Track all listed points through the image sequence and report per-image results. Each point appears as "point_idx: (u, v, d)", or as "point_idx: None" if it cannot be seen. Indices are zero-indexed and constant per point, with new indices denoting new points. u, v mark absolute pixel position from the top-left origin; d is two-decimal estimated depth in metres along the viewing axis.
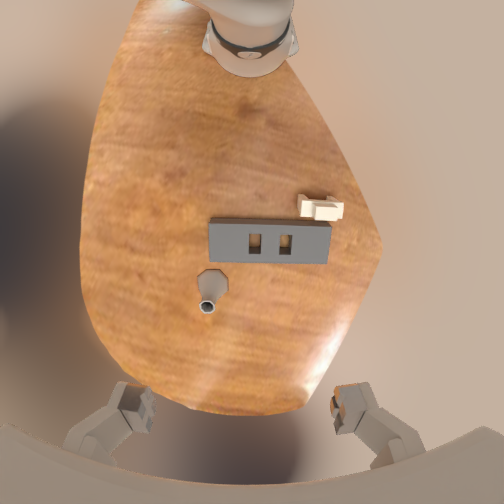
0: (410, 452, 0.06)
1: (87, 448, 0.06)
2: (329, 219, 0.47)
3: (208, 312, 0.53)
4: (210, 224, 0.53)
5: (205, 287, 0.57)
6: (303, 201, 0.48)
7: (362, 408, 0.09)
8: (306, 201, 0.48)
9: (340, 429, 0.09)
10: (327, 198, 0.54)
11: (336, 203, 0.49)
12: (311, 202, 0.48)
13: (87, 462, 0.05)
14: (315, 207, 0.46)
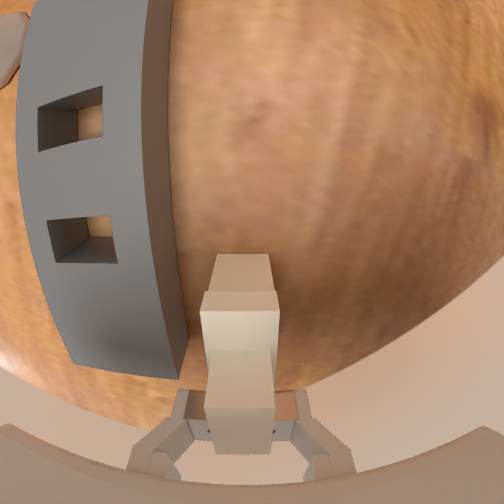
0: (336, 471, 0.06)
1: (158, 466, 0.06)
2: (217, 440, 0.09)
3: None
4: None
5: None
6: (274, 317, 0.10)
7: (292, 417, 0.09)
8: (274, 327, 0.11)
9: (274, 436, 0.09)
10: None
11: None
12: (270, 346, 0.11)
13: (87, 462, 0.05)
14: (264, 394, 0.09)
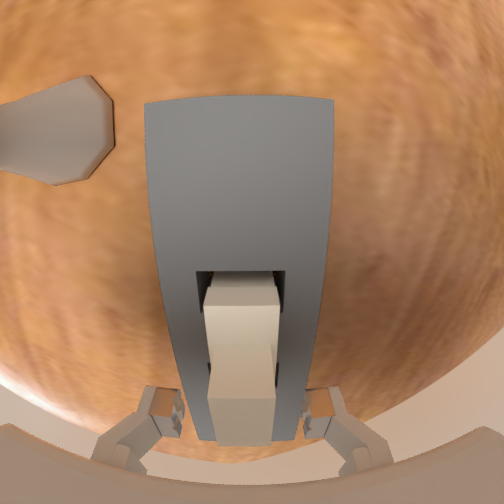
0: (376, 462, 0.06)
1: (119, 457, 0.06)
2: (219, 432, 0.10)
3: None
4: (329, 107, 0.10)
5: (40, 108, 0.09)
6: (274, 311, 0.11)
7: (329, 413, 0.09)
8: (274, 322, 0.11)
9: (308, 434, 0.09)
10: None
11: None
12: (271, 340, 0.11)
13: (87, 462, 0.05)
14: (265, 385, 0.09)
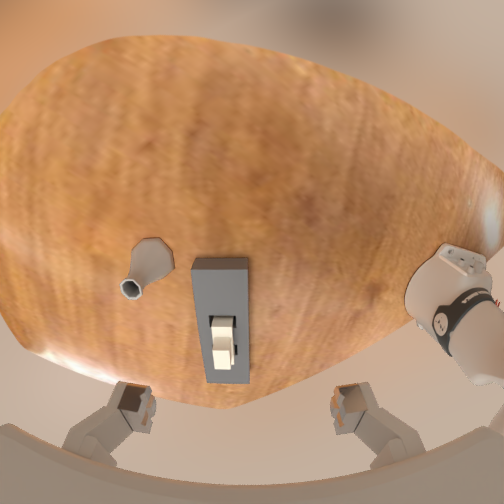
0: (410, 452, 0.06)
1: (87, 448, 0.06)
2: (215, 362, 0.38)
3: (122, 290, 0.33)
4: (246, 271, 0.39)
5: (152, 266, 0.37)
6: (230, 328, 0.39)
7: (362, 408, 0.09)
8: (230, 331, 0.40)
9: (340, 429, 0.09)
10: None
11: (232, 358, 0.42)
12: (230, 336, 0.40)
13: (87, 462, 0.05)
14: (227, 347, 0.38)
